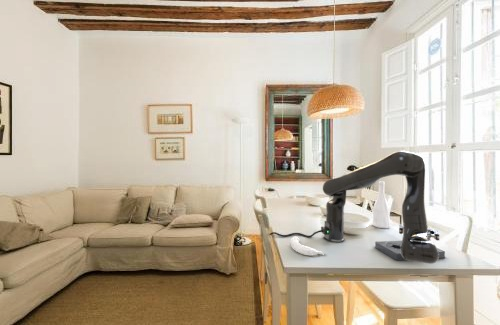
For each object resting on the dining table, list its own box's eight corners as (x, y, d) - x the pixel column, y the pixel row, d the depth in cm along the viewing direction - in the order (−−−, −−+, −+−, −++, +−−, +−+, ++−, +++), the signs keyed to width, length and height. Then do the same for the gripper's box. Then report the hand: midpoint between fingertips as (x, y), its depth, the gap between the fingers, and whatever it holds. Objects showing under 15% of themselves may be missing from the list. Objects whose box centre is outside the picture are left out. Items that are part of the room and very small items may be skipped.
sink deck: (396, 260, 99) (396, 253, 99) (375, 247, 113) (375, 241, 113) (444, 257, 102) (444, 251, 102) (418, 245, 116) (418, 239, 116)
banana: (288, 240, 121) (316, 241, 120) (292, 258, 102) (325, 259, 101) (288, 232, 121) (316, 233, 120) (293, 248, 102) (326, 249, 101)
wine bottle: (369, 224, 152) (370, 180, 152) (382, 224, 153) (383, 180, 153) (378, 228, 143) (380, 182, 142) (392, 228, 144) (393, 182, 143)
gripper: (441, 232, 86) (438, 222, 99) (397, 225, 95) (400, 217, 108) (441, 251, 86) (438, 239, 99) (397, 243, 95) (399, 232, 108)
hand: (418, 228), depth 104 cm, fingers open, 8 cm apart
